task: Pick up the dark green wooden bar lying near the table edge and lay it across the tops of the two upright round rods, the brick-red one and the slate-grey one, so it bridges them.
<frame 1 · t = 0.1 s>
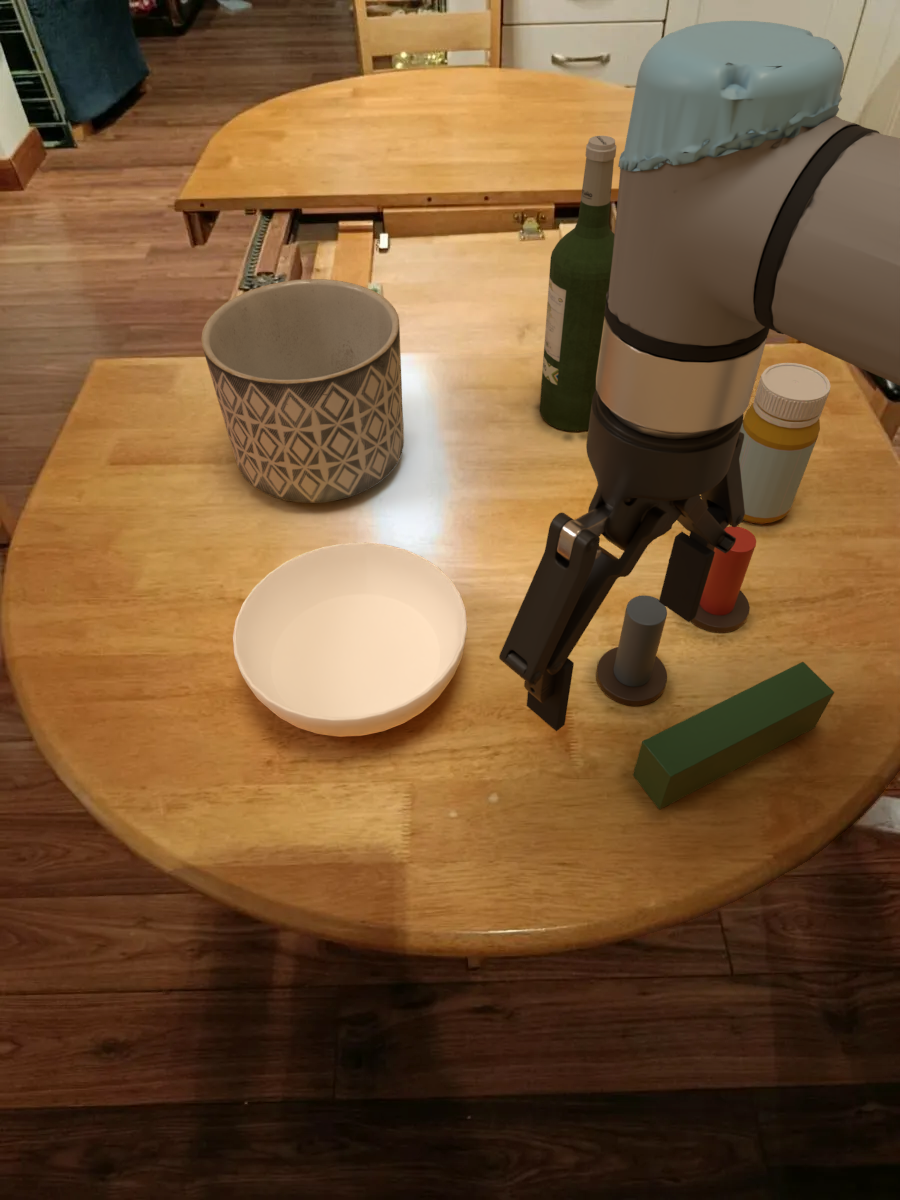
hand: (614, 660, 58), 14 cm above the table, tool pointing down, fingers open, 13 cm apart
bottle: (754, 505, 89), on the table
bowl: (357, 669, 75), on the table
planter: (322, 461, 95), on the table
wine bottle: (572, 414, 100), on the table
grey rod: (630, 677, 74), on the table
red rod: (714, 608, 79), on the table
green bar: (725, 750, 69), on the table
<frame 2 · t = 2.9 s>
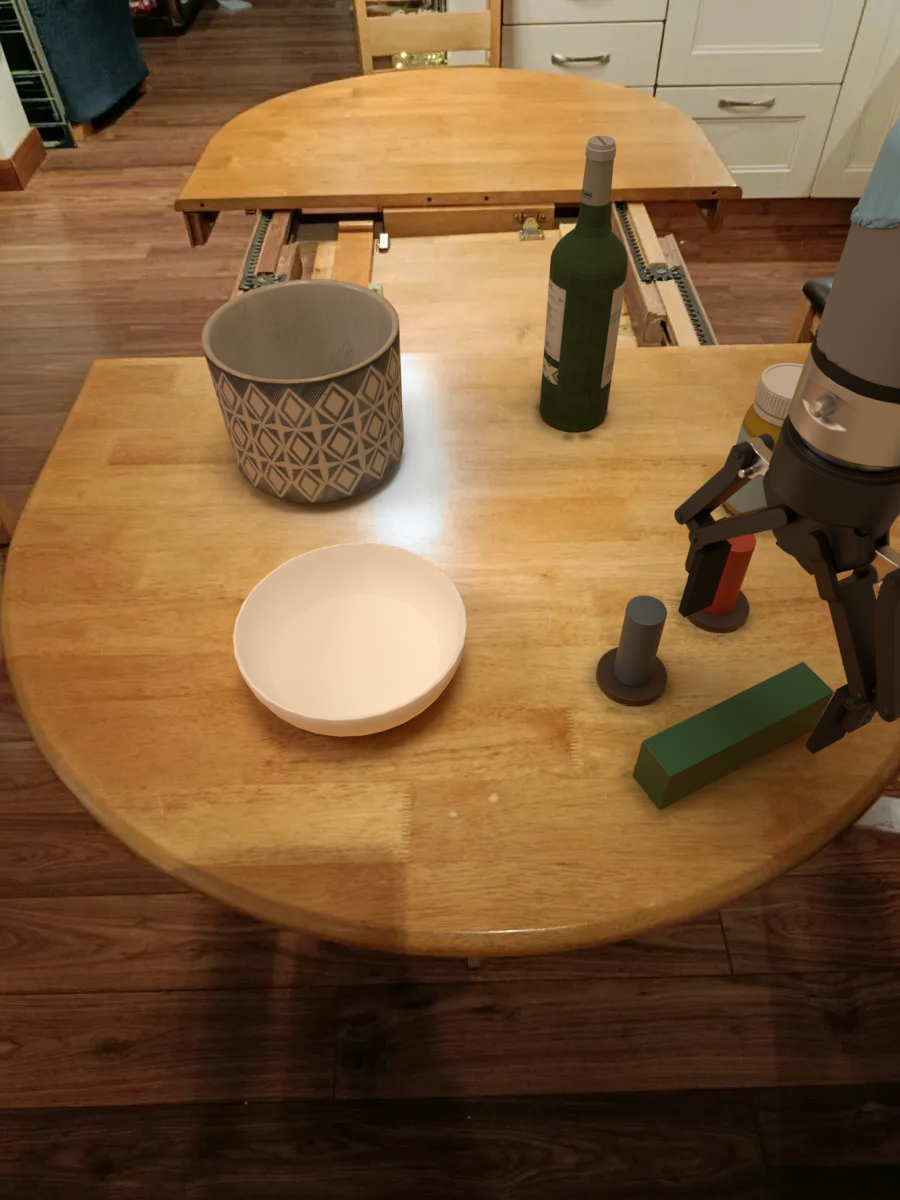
hand: (755, 671, 61), 11 cm above the table, tool pointing down, fingers open, 13 cm apart
nothing on the table moved.
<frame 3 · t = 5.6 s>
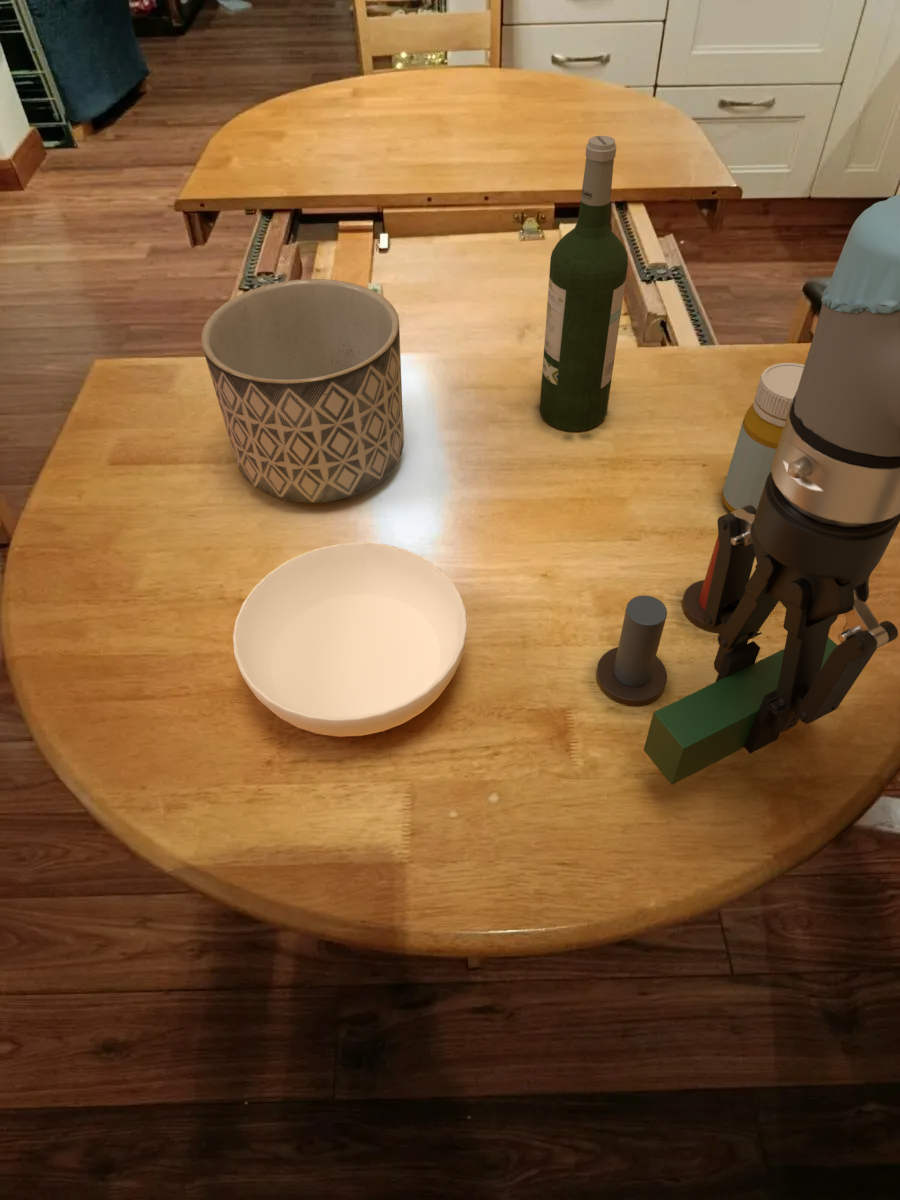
hand: (741, 722, 65), 4 cm above the table, tool pointing down, fingers closed on green bar, 3 cm apart
green bar: (740, 724, 66), point 4 cm above the table, touching gripper
everything else where it was.
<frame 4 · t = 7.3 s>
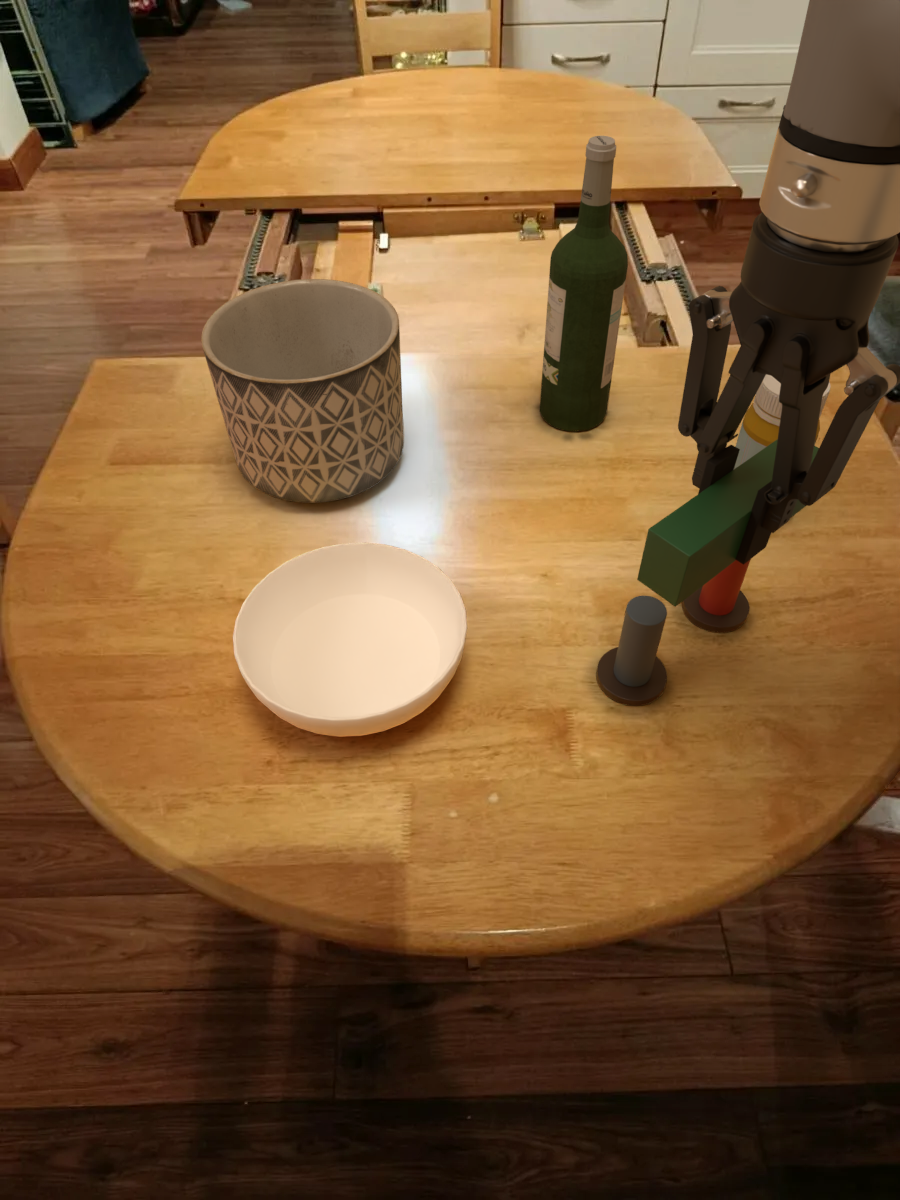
hand: (726, 537, 63), 16 cm above the table, tool pointing down, fingers closed on green bar, 3 cm apart
green bar: (726, 540, 63), point 16 cm above the table, touching gripper
everything else where it was.
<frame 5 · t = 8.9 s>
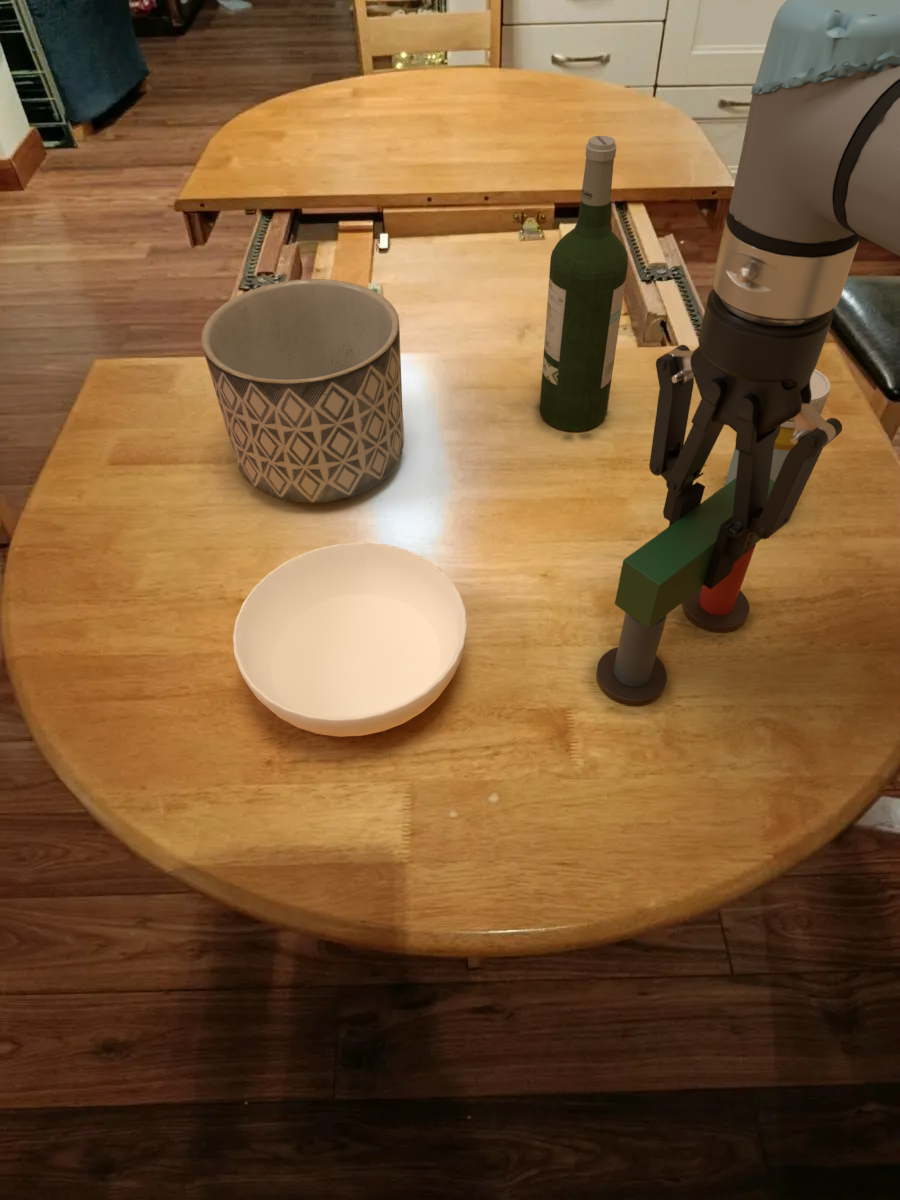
hand: (695, 564, 69), 10 cm above the table, tool pointing down, fingers closed on green bar, 3 cm apart
green bar: (695, 567, 69), point 10 cm above the table, touching gripper
everything else where it was.
when the fingers open (9 cm above the table, at t = 9.3 s): green bar stays where it is, resting on grey rod, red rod.
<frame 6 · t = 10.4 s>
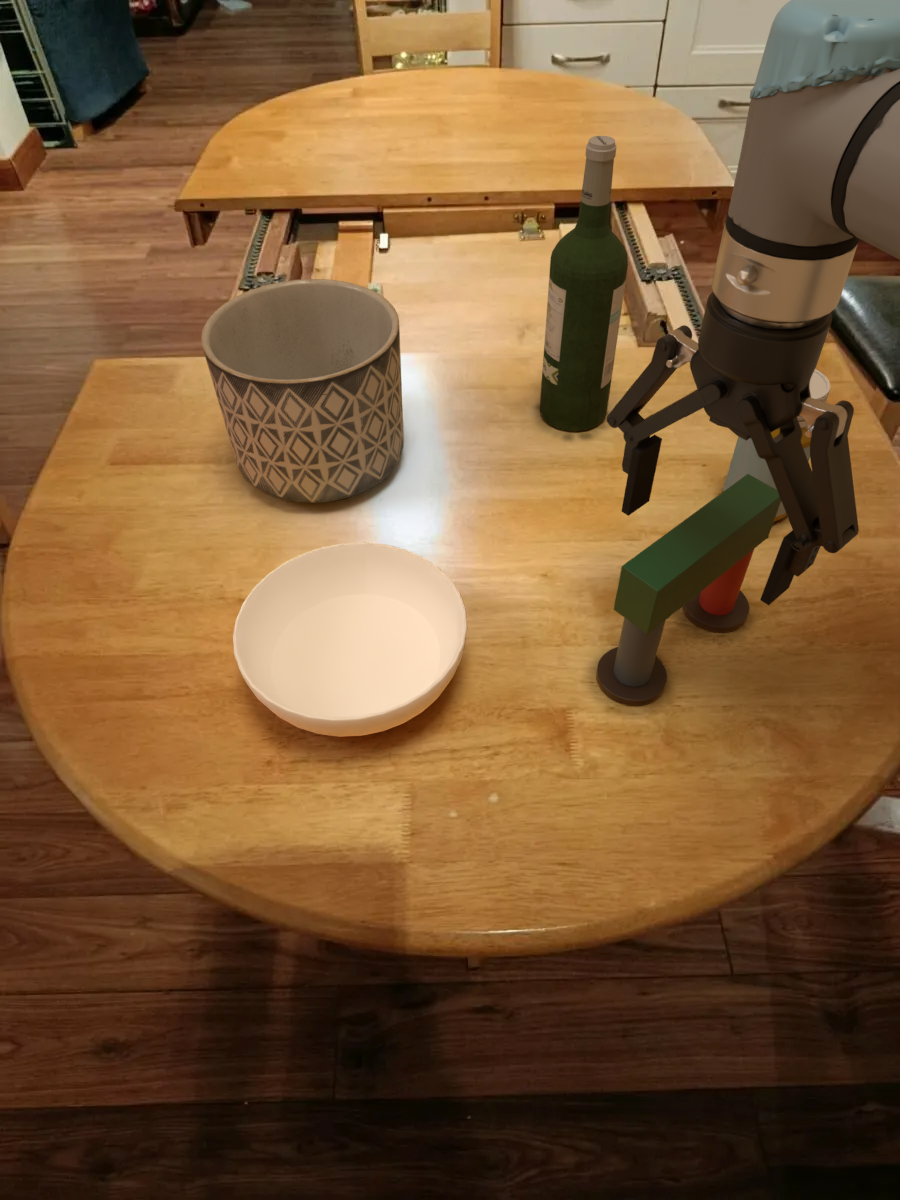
hand: (701, 548, 68), 12 cm above the table, tool pointing down, fingers open, 13 cm apart
green bar: (693, 572, 70), point 9 cm above the table, touching grey rod, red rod
everything else where it was.
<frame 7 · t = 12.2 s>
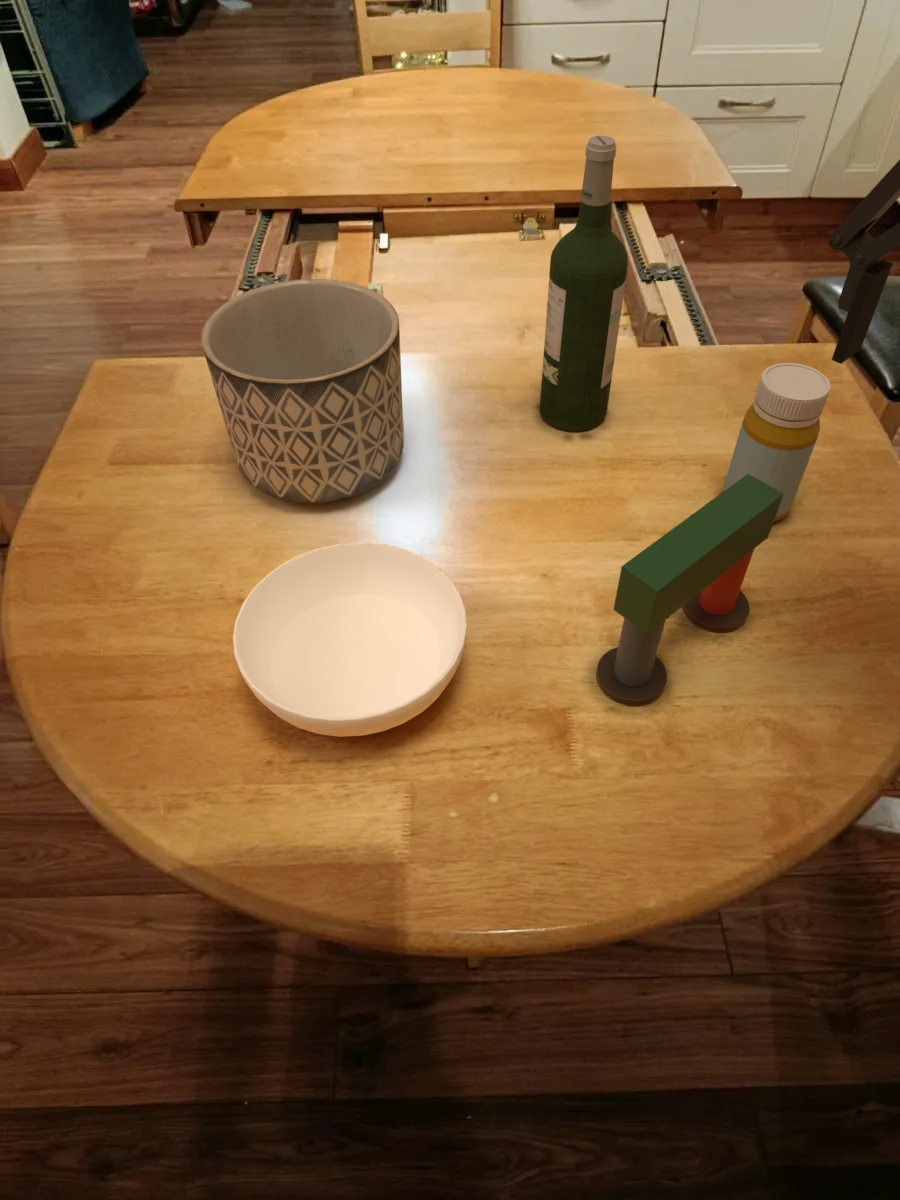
nothing on the table moved.
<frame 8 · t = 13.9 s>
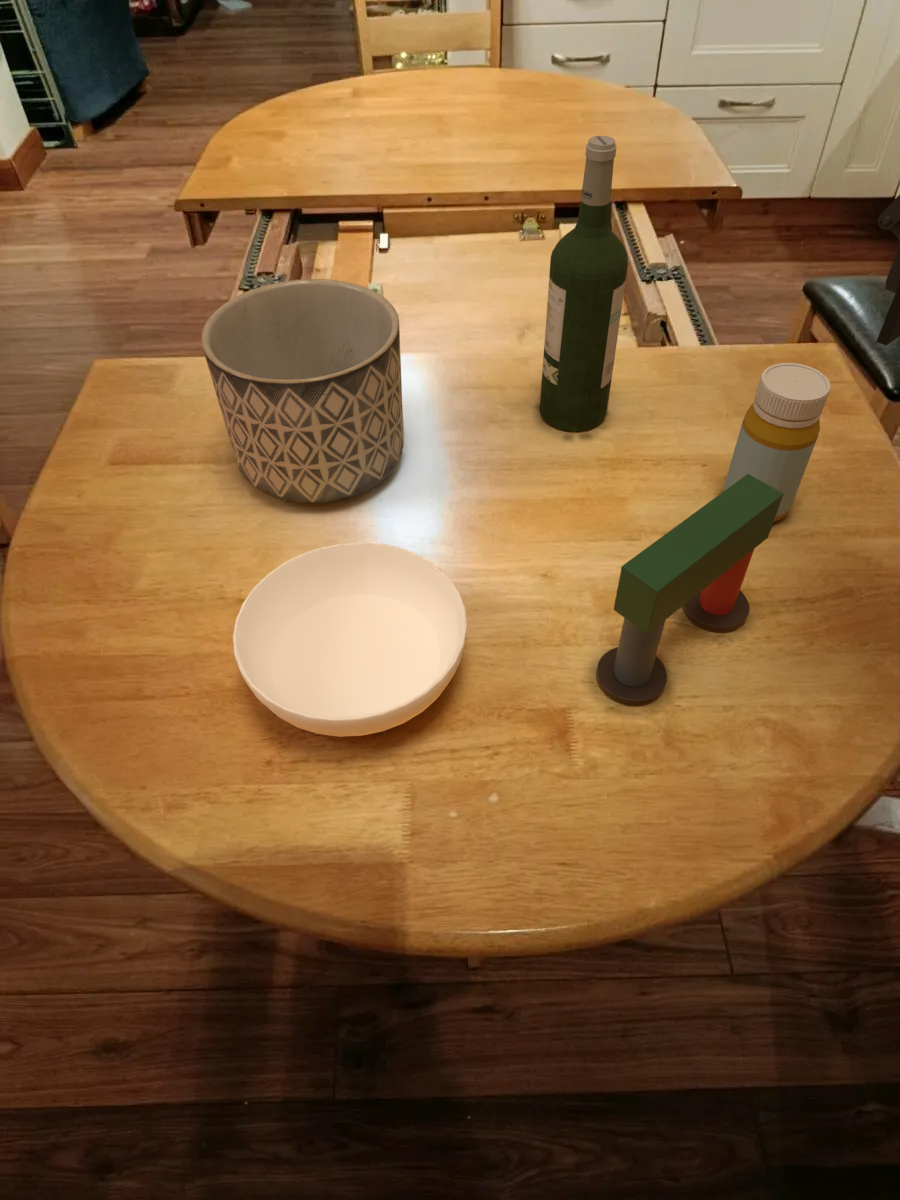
nothing on the table moved.
at the end: green bar 0.0 cm from the target spot on the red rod, point 9.0 cm above the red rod's base; green bar tilted 0°; wine bottle tilted 0° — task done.
